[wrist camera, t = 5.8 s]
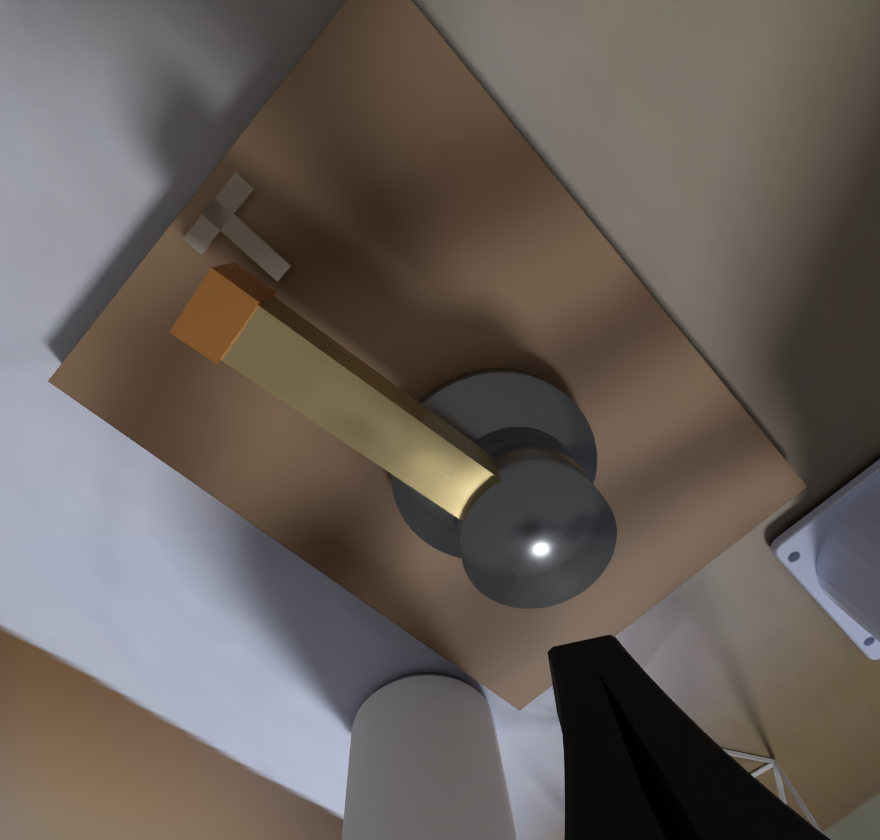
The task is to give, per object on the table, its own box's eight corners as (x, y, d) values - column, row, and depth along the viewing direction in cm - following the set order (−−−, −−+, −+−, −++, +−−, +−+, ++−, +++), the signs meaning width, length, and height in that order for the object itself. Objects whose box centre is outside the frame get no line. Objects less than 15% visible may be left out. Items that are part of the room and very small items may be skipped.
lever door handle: (631, 447, 18) (694, 506, 14) (500, 581, 19) (526, 666, 16) (307, 180, 14) (275, 163, 10) (177, 375, 15) (109, 421, 12)
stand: (788, 474, 20) (811, 489, 19) (514, 691, 23) (520, 714, 22) (379, -23, 13) (378, -45, 12) (67, 372, 16) (43, 383, 15)
